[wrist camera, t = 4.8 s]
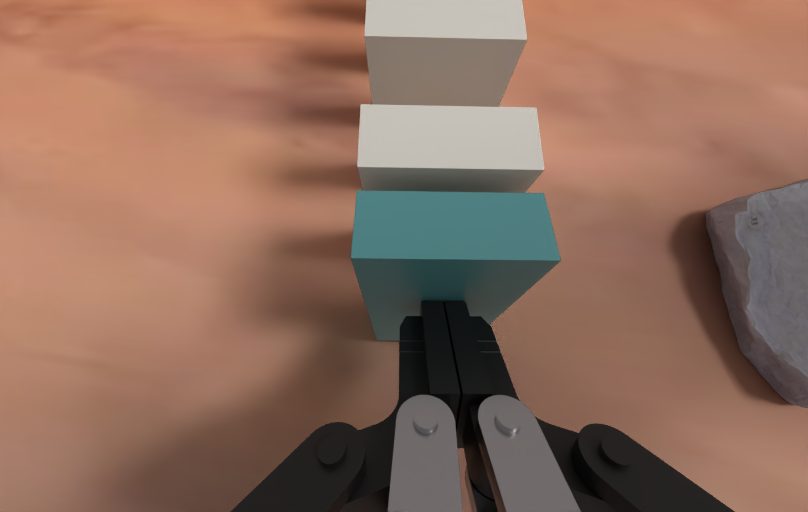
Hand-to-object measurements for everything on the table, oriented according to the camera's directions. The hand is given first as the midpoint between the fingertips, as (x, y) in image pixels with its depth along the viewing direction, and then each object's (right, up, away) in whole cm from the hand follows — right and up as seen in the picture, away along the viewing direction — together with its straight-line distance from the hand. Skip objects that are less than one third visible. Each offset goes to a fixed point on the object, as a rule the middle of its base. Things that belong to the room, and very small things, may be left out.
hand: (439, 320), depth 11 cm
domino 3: (0, -1, +6) cm, 6 cm away
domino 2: (0, +3, +7) cm, 8 cm away
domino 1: (0, +7, +9) cm, 11 cm away
